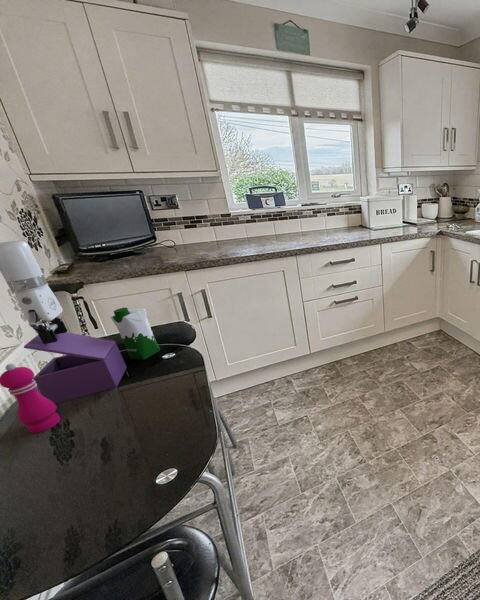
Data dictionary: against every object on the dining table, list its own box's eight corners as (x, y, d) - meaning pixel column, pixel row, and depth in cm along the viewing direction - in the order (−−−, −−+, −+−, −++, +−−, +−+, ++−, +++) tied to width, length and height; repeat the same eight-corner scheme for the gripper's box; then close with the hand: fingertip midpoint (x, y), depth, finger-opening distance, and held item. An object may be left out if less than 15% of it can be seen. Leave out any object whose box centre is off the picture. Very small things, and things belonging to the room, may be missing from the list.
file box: (48, 405, 100) (32, 378, 97) (66, 383, 112) (52, 358, 108) (116, 386, 107) (104, 360, 104) (126, 367, 119) (116, 343, 115)
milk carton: (125, 360, 124) (104, 312, 117) (147, 348, 133) (129, 302, 125) (143, 361, 122) (123, 312, 115) (165, 349, 130) (146, 302, 123)
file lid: (23, 348, 94) (28, 333, 93) (45, 330, 105) (49, 317, 105) (103, 360, 103) (108, 347, 103) (115, 343, 115) (119, 331, 115)
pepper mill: (26, 438, 87) (-14, 375, 80) (27, 426, 91) (-11, 366, 84) (63, 423, 92) (28, 362, 84) (62, 412, 96) (29, 354, 89)
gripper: (30, 288, 90) (60, 345, 96) (57, 274, 104) (81, 324, 111) (-7, 294, 87) (26, 353, 93) (25, 279, 101) (52, 330, 108)
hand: (56, 337), depth 102 cm, fingers open, 7 cm apart
